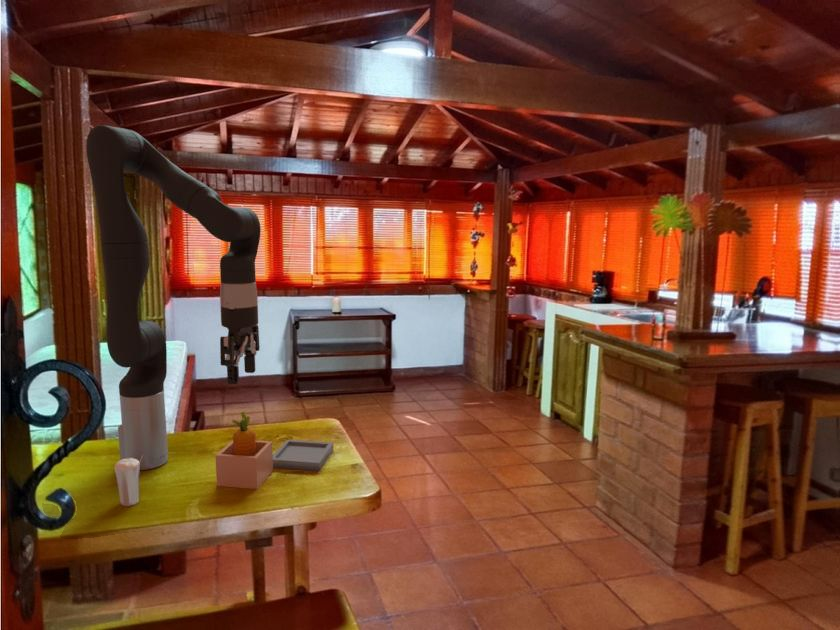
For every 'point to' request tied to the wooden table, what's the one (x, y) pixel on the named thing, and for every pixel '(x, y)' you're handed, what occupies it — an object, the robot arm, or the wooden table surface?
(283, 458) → the tray
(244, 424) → the carrot
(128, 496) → the milkshake
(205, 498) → the wooden table surface
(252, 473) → the box
